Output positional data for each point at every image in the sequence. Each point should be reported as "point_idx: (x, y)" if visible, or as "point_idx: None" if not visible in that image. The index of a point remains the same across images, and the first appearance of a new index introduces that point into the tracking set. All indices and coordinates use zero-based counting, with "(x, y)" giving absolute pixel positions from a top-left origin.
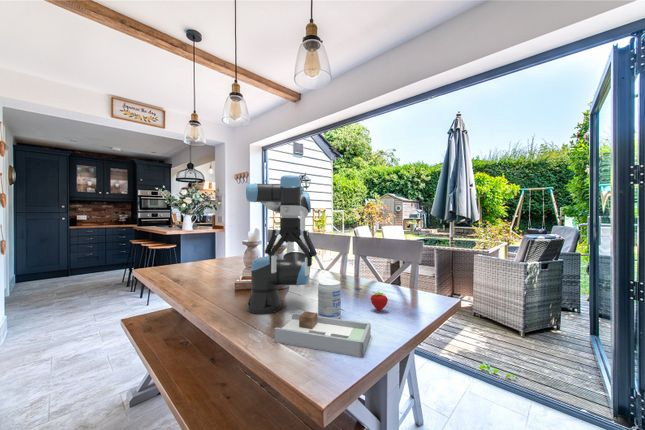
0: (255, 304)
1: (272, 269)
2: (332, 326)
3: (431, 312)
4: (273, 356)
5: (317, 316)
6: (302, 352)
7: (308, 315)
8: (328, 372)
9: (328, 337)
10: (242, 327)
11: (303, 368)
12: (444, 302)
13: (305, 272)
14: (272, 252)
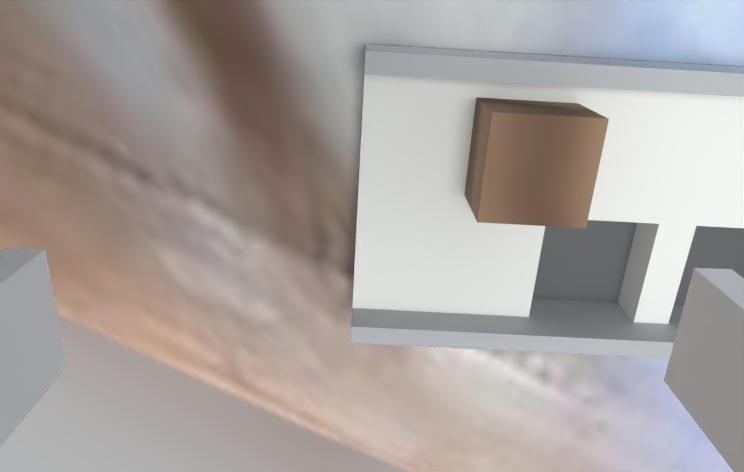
0: None
1: (20, 408)
2: (699, 119)
3: None
4: (409, 414)
5: (591, 71)
6: (532, 355)
7: (547, 192)
8: (671, 454)
9: None
10: (54, 189)
11: (566, 455)
12: None
13: (703, 416)
14: None
